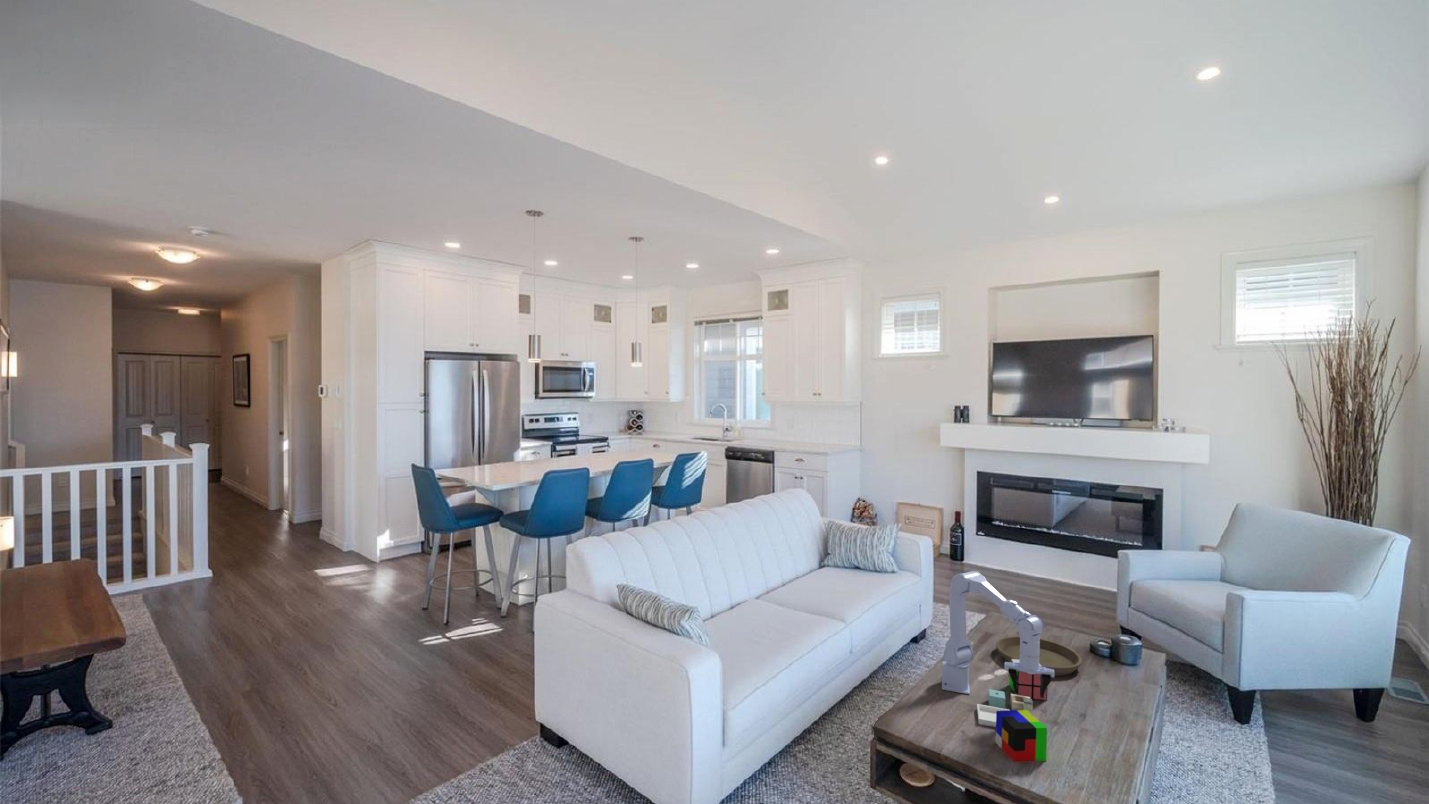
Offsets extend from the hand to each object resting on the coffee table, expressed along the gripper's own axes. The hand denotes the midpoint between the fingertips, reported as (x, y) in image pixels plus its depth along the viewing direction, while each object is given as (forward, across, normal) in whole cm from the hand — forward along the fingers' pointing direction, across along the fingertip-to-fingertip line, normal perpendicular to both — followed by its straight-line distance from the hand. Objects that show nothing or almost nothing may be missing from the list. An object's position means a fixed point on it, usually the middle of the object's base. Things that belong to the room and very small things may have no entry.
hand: (1028, 694), depth 199 cm
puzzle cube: (+10, +3, +23) cm, 26 cm away
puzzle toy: (+10, -4, -18) cm, 21 cm away
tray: (+10, -10, -1) cm, 14 cm away
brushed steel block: (+10, 0, 0) cm, 10 cm away
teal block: (+10, -8, +10) cm, 17 cm away
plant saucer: (+10, +10, +54) cm, 56 cm away
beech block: (+10, -1, +8) cm, 13 cm away
